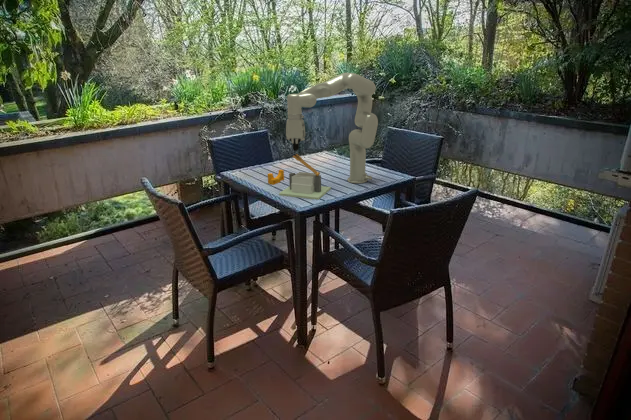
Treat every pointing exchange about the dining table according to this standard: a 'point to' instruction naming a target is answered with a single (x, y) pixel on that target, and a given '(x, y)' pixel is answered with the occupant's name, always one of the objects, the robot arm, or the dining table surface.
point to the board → (309, 196)
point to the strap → (306, 164)
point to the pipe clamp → (277, 179)
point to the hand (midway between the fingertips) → (295, 150)
